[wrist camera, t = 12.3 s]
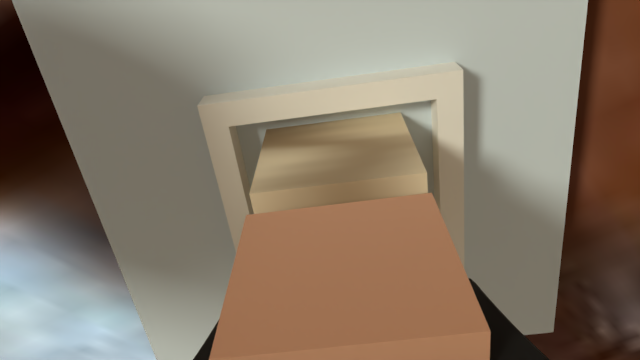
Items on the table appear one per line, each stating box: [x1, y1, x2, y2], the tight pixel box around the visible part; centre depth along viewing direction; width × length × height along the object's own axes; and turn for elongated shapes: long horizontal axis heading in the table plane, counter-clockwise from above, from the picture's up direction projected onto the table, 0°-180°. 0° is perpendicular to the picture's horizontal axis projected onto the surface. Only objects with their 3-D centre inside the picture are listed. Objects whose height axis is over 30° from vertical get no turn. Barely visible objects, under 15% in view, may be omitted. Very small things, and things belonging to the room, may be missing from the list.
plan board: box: [12, 0, 588, 360], centre depth 17 cm, size 17×18×2 cm
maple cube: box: [249, 112, 428, 214], centre depth 15 cm, size 4×4×4 cm
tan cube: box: [209, 193, 491, 360], centre depth 11 cm, size 4×4×4 cm
